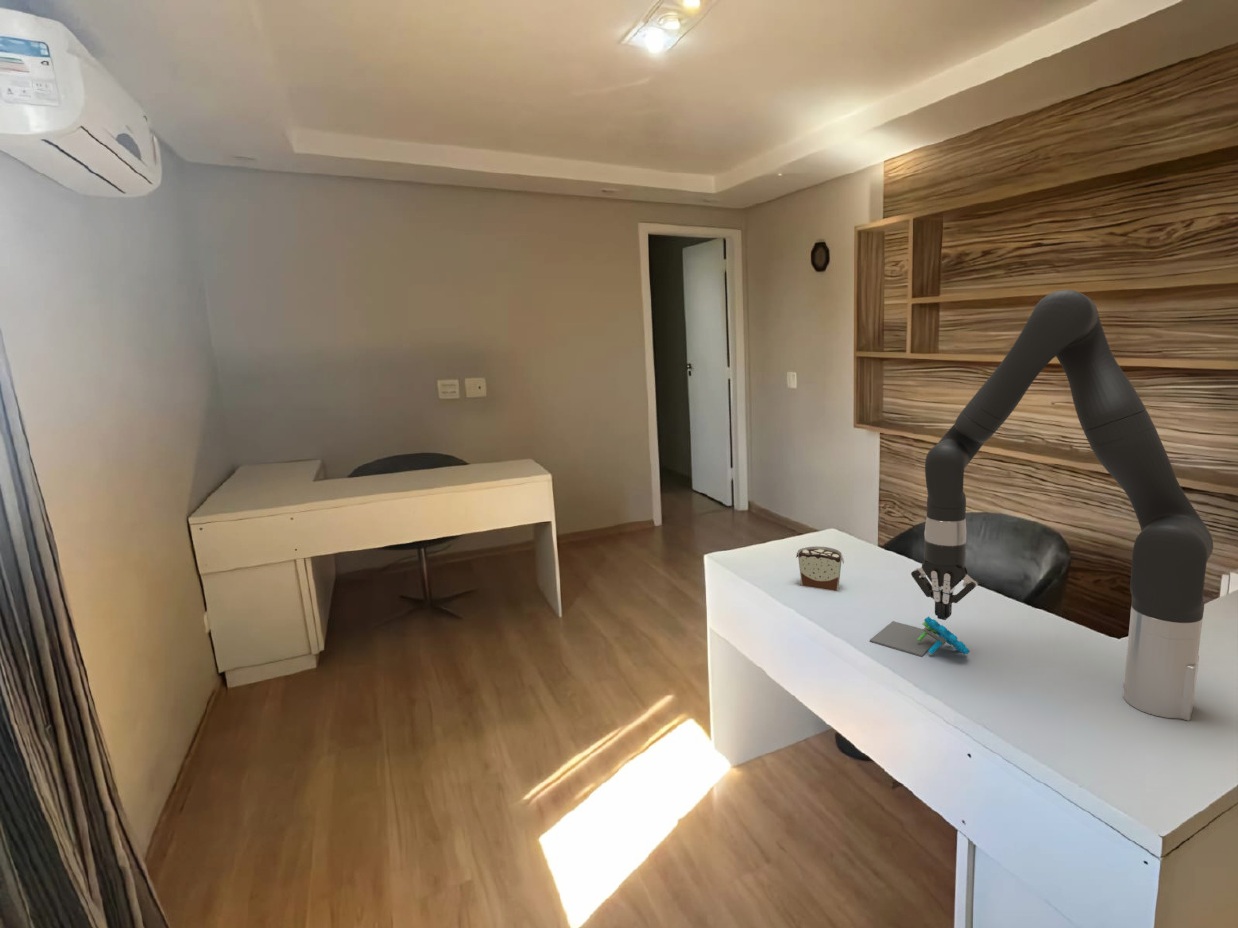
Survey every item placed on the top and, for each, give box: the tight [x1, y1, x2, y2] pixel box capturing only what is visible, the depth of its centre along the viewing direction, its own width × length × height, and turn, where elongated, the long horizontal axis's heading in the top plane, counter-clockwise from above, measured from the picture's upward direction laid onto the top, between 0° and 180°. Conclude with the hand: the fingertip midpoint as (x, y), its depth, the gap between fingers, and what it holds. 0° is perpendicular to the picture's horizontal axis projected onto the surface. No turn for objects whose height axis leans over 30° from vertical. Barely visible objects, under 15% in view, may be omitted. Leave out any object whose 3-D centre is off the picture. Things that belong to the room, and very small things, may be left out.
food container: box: [795, 545, 845, 593], centre depth 171 cm, size 12×6×10 cm, turn 58°
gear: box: [917, 616, 971, 655], centre depth 133 cm, size 11×6×10 cm
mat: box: [869, 620, 939, 658], centre depth 140 cm, size 11×12×1 cm
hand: (942, 618), depth 134 cm, fingers closed
